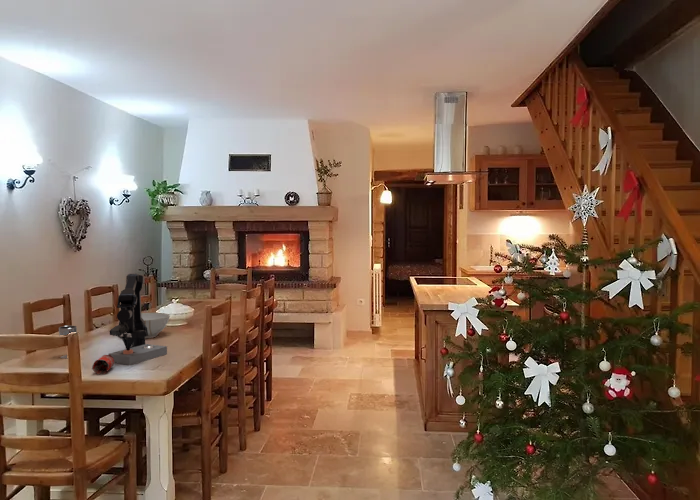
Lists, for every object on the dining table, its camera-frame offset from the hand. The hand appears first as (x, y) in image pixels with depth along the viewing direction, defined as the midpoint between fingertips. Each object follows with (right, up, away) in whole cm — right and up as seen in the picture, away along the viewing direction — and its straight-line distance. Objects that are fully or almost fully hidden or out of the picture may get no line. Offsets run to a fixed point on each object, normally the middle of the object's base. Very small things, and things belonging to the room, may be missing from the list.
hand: (128, 350), depth 260 cm
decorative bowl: (-14, -3, +59) cm, 60 cm away
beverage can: (-3, -6, -18) cm, 19 cm away
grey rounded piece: (+5, -4, +12) cm, 14 cm away
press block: (+3, -5, +6) cm, 8 cm away
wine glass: (-34, -5, +9) cm, 35 cm away
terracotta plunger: (0, -4, 0) cm, 4 cm away
